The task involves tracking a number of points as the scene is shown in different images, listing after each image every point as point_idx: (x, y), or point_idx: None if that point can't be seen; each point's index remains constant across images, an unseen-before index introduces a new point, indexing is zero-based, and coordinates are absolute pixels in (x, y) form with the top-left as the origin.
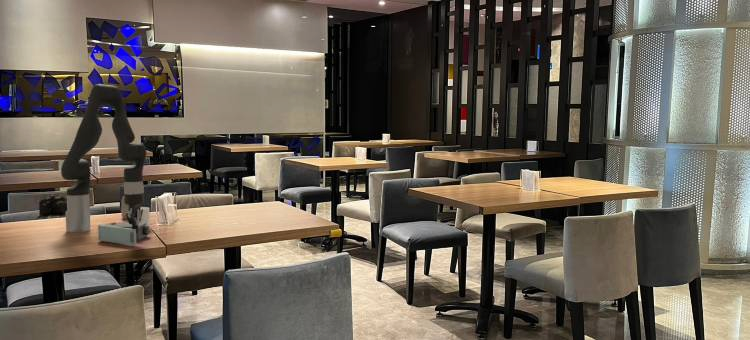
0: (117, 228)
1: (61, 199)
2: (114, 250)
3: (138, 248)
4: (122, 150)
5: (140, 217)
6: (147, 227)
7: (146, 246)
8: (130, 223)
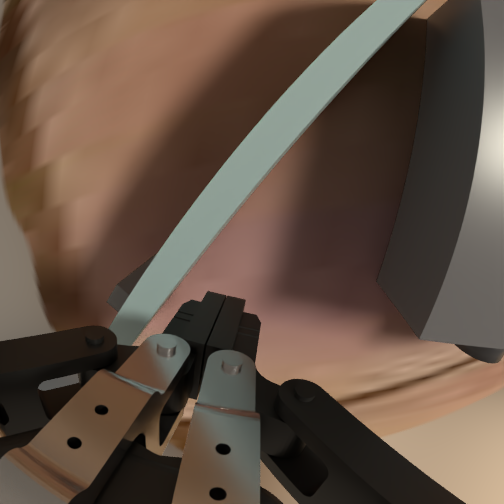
0: (269, 110)
1: None
2: (78, 162)
3: None
4: None
5: (286, 484)
6: (485, 357)
7: None
8: (85, 343)
